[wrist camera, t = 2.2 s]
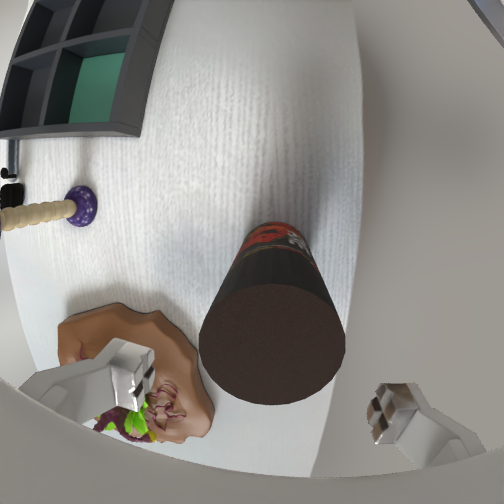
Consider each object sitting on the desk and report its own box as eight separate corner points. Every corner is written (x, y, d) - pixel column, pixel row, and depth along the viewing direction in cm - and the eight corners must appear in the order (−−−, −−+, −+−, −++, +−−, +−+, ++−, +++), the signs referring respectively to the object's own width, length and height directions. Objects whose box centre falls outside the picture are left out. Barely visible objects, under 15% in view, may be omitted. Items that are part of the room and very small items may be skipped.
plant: (47, 304, 29) (-12, 344, 19) (186, 298, 27) (138, 365, 16) (100, 422, 34) (68, 471, 23) (223, 436, 32) (208, 505, 21)
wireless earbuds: (18, 166, 25) (-11, 168, 21) (30, 165, 25) (0, 167, 20) (18, 223, 27) (-10, 231, 22) (30, 224, 27) (1, 233, 22)
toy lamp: (59, 203, 26) (-69, 235, 10) (80, 170, 25) (-58, 182, 9) (83, 234, 27) (-45, 288, 11) (106, 202, 26) (-36, 237, 9)
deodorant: (316, 231, 25) (368, 303, 10) (297, 294, 26) (315, 414, 12) (249, 214, 25) (212, 265, 10) (234, 278, 26) (189, 387, 12)
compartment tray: (54, 10, 20) (34, -1, 15) (181, -19, 19) (167, -42, 15) (18, 139, 25) (-8, 139, 20) (140, 137, 24) (115, 131, 19)
